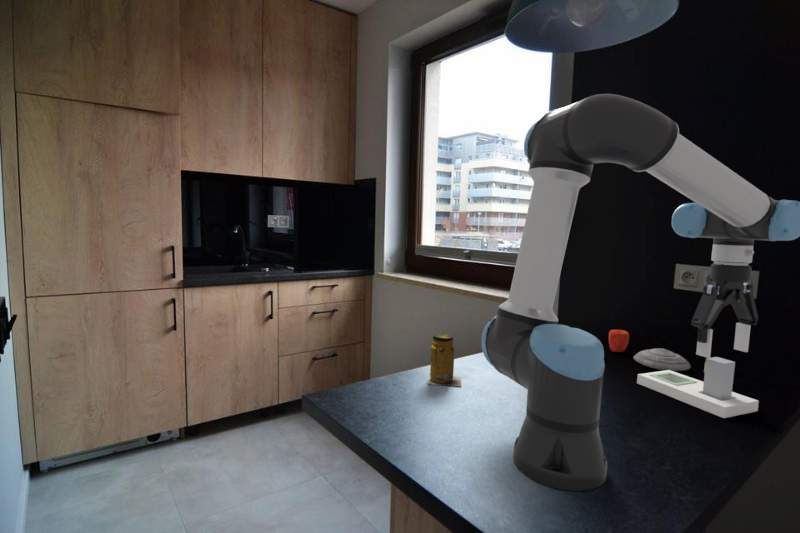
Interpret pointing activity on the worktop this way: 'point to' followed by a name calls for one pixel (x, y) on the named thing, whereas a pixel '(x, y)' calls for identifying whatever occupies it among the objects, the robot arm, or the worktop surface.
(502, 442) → the worktop surface
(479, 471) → the worktop surface
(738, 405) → the panel
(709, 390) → the plug
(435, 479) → the worktop surface
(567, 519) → the worktop surface
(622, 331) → the apple
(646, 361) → the flying saucer
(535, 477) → the robot arm
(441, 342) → the condiment
